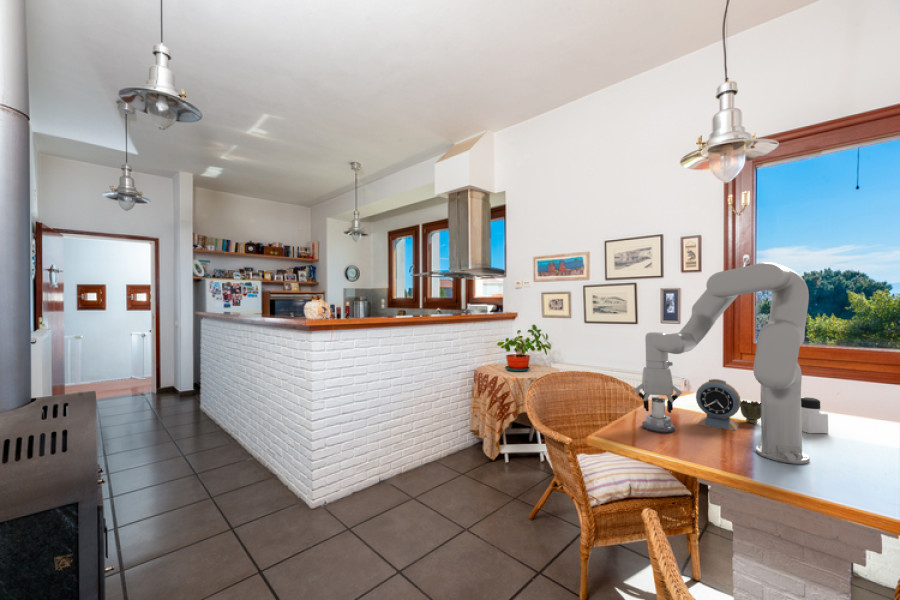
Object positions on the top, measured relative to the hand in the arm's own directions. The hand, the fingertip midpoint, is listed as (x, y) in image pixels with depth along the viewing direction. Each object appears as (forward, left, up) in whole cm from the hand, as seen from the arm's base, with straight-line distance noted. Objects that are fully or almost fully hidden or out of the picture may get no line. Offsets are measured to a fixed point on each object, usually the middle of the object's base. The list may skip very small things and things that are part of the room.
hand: (658, 410), depth 145 cm
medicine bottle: (+13, -52, -7) cm, 54 cm away
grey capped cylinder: (0, 0, -5) cm, 5 cm away
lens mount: (0, 0, -7) cm, 7 cm away
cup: (+18, -36, -7) cm, 41 cm away
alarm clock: (+12, -23, -7) cm, 27 cm away
